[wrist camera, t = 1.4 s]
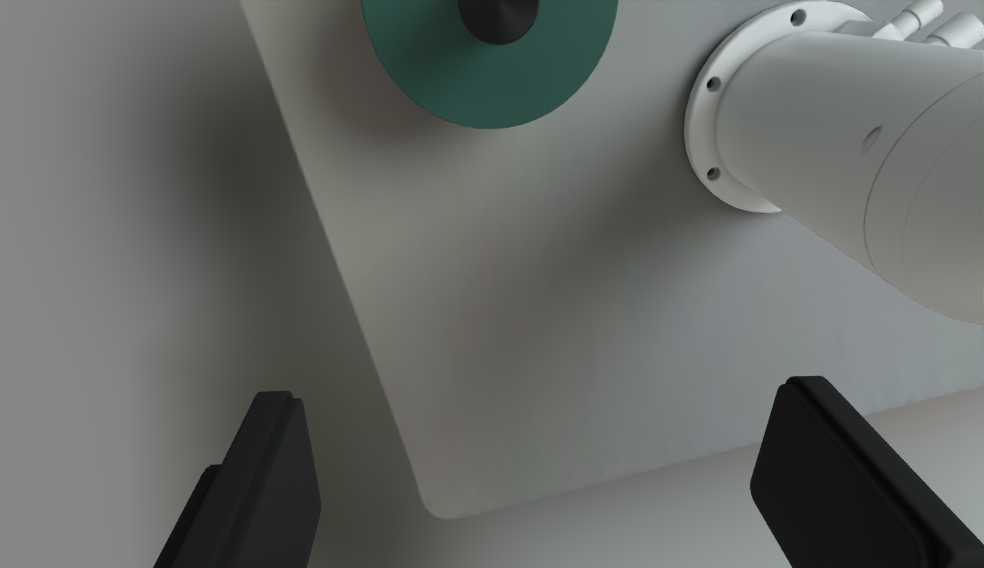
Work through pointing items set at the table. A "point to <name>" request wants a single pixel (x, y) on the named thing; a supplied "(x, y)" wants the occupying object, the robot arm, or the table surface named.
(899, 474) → the robot arm
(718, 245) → the table surface
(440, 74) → the lid
